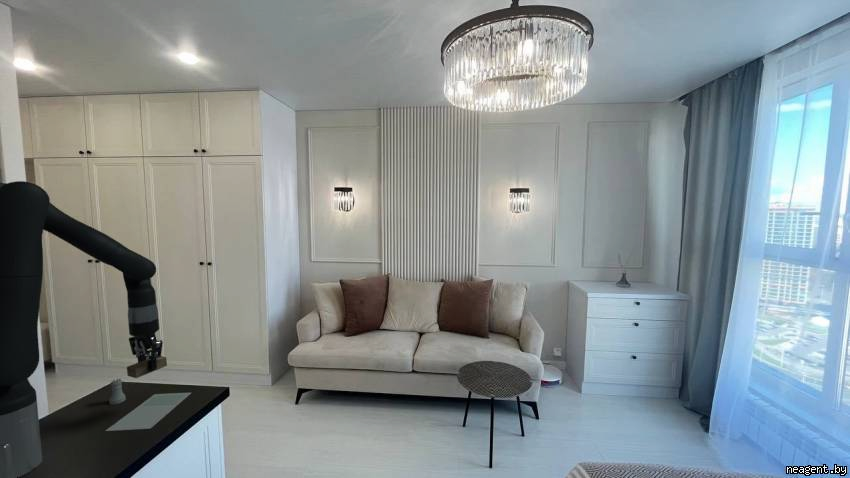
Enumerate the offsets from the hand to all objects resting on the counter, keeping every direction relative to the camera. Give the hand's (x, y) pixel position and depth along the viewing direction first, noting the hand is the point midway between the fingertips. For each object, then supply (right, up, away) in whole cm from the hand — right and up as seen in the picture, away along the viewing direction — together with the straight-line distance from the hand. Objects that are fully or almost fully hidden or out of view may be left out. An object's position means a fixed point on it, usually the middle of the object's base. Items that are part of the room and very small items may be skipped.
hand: (147, 368), depth 110 cm
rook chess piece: (-18, -15, +8) cm, 25 cm away
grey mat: (-1, -16, +3) cm, 16 cm away
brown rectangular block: (0, -1, 0) cm, 1 cm away
